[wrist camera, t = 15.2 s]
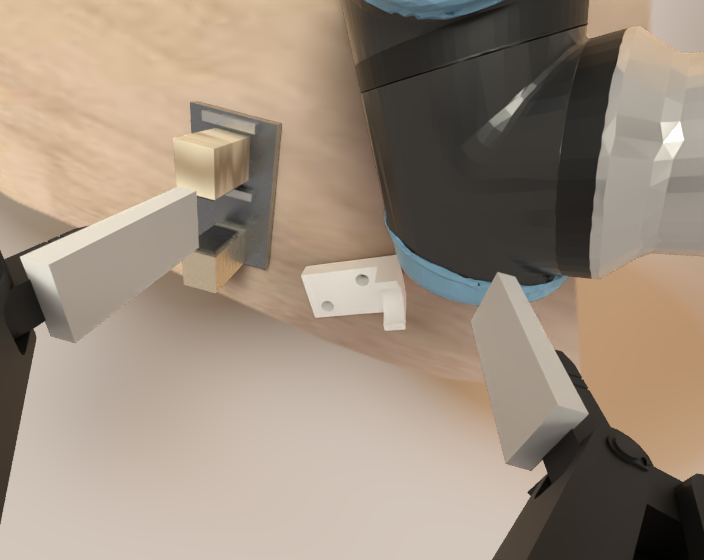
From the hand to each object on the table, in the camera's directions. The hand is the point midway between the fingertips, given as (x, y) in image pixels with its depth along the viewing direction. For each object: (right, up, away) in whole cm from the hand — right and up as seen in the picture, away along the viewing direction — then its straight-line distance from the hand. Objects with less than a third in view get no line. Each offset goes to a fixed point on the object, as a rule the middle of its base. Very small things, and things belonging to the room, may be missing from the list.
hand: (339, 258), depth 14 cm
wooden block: (-13, +14, +24) cm, 31 cm away
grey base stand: (-14, +10, +28) cm, 33 cm away
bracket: (+1, -1, +32) cm, 32 cm away
